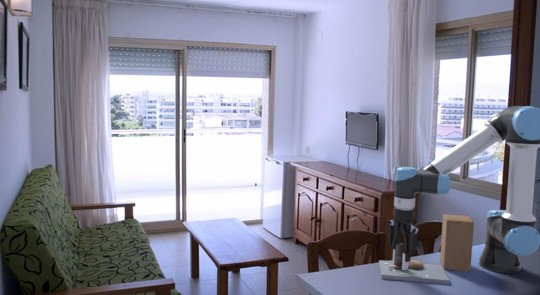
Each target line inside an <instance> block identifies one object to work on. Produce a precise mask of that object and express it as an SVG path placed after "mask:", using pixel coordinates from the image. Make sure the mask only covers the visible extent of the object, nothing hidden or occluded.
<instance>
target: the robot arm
mask: <svg viewBox="0 0 540 295" xmlns="http://www.w3.org/2000/svg"><path fill="white" fill-rule="evenodd" d="M504 141H505V143H506V144H507V145H508V146H509V161H508V162H509V164H508V165H509V166H508V178H507V180H508V181H507V189H506V190H507V194H506V206H505V207H506V208H505V209H504V210H503V209H491V210H488V211H487V216H486V227H485V228H486V229H485V242H484V244H485V245H484V247H483V250H482V251H481V254H480V256H479V260H478V264H479V266H480V267H482V269H483V268H484V269H486V270H489V271H492V272H496V273H501V274H503V273H504V274H517V273H519V272H521V269H522V263H521V260H520V256H521V257H523V256H530V255H531V254H533V253H534V252H536V251H537V250H538V248H539V247H540V233H539V231H538V230H537V218H536V217H535V216H534V214H533V207H534V193H535V180H536V166H537V153H538V148H540V108H539V107H537V106H536V107H534V106H531V105H526V106H525V105H512V106H509V107H508V106H507V108H505V109H503V110H501V111H500V112H498V113H497V114H495V115H494V116H493V117H491V118H490V119H488V120H487V121H485V123H484V125H483V127H481V128H479V130H477V131H476V132H474V133H472V134H471V135H469V136H468V137H466V138H465V139H464V140H462V141H461V142H459V143H458V144H457V145H455V146H454V147H452V148H450V149H449V150H447V151H446V152H445V153H444V154H441V155H440V156H439V157H438V158H436V159H435V160H433V161H431V162H430V163H429V164H427V165H425V166H423V167H419V168H415V167H413V166H399V167H397V168H396V173H395V177H394V179H395V180H394V182H395V183H394V184H395V185H394V197H393V198H394V200H393V201H394V202H393V206H394V207H393V212H392V216H393V219H391V220H390V219H389V220H387V222H386V223H387V226H388V231H387V233H388V234H387V245H388V247H391V257H392V261H393V262H392V265H394V264H395V252H396V243H400V240H401V236H402V237H403V244H404V253H403V261H402V270H406V269H408V265H409V262H410V260H411V254H414V253H416V251H417V241H418V234H419V231H420V228H419V227H416V226H414V222H413V220H414V218H415V206H416V194H424V195H425V194H427V195H437V196H438V195H439V196H440V195H447V194H449V192H450V190H451V179H450V176H449V175H450V174H451V173H452V172H454V171H455V170H457V169H458V168H460V167H461V166H463V165H465V164H466V163H468V162H469V161H470V160H472V159H473V158H475V157H476V156H478V155H479V154H481V153H483V152H485V151H486V150H488V149H489V148H491V146H493V145H494V144H496V143H502V142H504Z"/></svg>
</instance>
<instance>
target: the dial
mask: <svg viewBox="0 0 540 295" xmlns="http://www.w3.org/2000/svg"><path fill="white" fill-rule="evenodd" d="M404 252H405V248H404V243H402V242H399V243H396V252H395V264H394V265H392V266H388V268H402V261H403V253H404ZM423 264H424V263H423V262H422V261H419V260H414V259H410V262H409V265H408V267H409V268H413V269H421V268H423Z"/></svg>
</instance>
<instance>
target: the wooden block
mask: <svg viewBox="0 0 540 295" xmlns="http://www.w3.org/2000/svg"><path fill="white" fill-rule="evenodd" d="M441 226H442V227H441V241H440V243H441V244H440V254H439V255H440V258H439V261H440V265H442V267H443V269H444V271H445V270H447V271H448V270H449V271H457V272H471V270H472V269H471V267H472V255H473V254H472V253H473V239H474V226H475V221H473V220H472V219H471V218H470V216H468V215H462V214H461V215H460V214H459V215H458V214H446V213H445V214H442V225H441Z"/></svg>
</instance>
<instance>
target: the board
mask: <svg viewBox="0 0 540 295" xmlns="http://www.w3.org/2000/svg"><path fill="white" fill-rule="evenodd" d="M392 262H393V260H392V261H391V260H383V259H381V260H378V265H379V272H380V278H381V279H383V280H396V281H405V282H420V283H429V284H440V285H441V284H443V285H450V283H451V282H450V278H449V276H448V275H447V273H446V271H445V269H444V268H443V266H442V264H433V263H432V264H430V263H423V268H421V269H413V268H409V267H408V269H406V270H402V268H388V266H392Z"/></svg>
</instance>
